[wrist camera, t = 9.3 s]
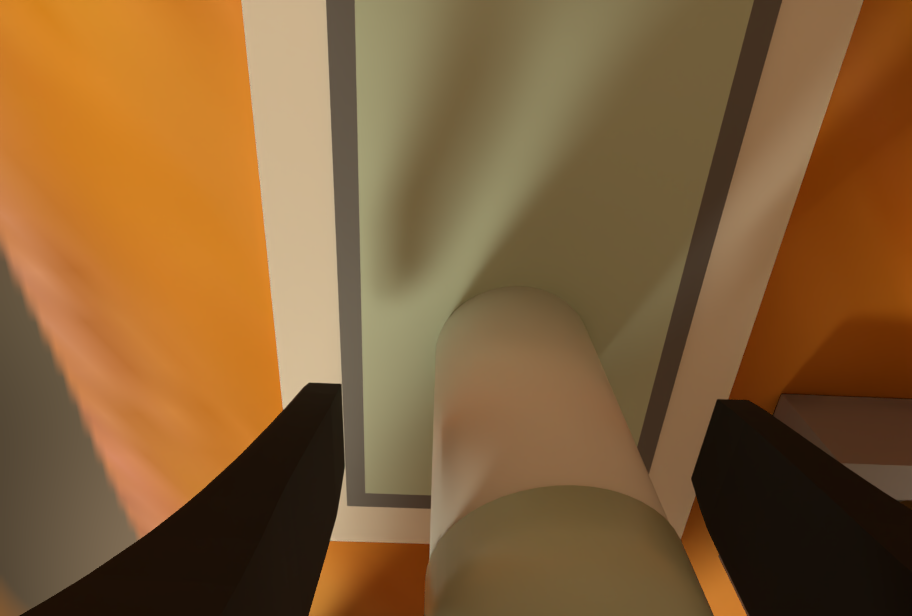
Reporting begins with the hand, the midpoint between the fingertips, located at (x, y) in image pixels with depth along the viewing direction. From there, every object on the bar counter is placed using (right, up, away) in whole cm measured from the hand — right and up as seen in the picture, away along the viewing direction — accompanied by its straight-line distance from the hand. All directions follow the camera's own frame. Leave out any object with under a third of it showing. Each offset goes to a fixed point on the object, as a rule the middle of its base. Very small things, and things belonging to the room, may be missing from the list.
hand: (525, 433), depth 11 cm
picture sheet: (0, +4, +2) cm, 4 cm away
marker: (0, +1, +2) cm, 3 cm away
